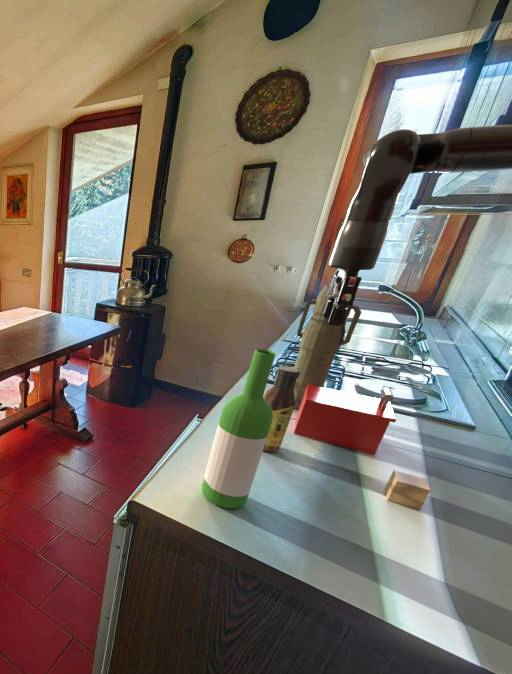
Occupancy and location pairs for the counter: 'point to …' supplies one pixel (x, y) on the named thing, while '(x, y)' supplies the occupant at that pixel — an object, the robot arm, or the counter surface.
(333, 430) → the red box
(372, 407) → the red box lid
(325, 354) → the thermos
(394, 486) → the block
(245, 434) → the wine bottle
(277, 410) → the sauce bottle
